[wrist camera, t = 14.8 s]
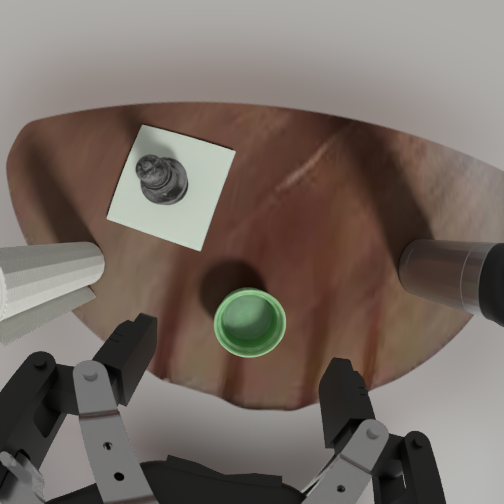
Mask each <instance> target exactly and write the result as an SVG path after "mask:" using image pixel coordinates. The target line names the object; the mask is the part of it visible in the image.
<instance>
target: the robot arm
mask: <svg viewBox="0 0 504 504" xmlns="http://www.w3.org/2000/svg"><path fill="white" fill-rule="evenodd" d="M399 277H400V281H401V283H402V286H403V287H404V288H405V290H406V291H408V292H409V293H411V294H414V295H417V296H420V297H423V298H425V299H428V300H431V301H435V302H438V303H441V304H444V305H447V306H450V307H453V308H456V309H459V310H462V311H465V312H468V313H471V314H474V315H477V316H480V317H483V318H486V319H489V320H492V321H494V322H496V323H497V324H499V325H500V326H503V327H504V243H487V242H467V241H448V240H429V239H418V240H415V241H412V242H411V243H410V244H409V245H408V246H407V247H406V248H405V250H404V251H403V253H402V256H401V258H400V263H399ZM156 344H157V318H156V317H153V316H150V315H147V314H144V313H140V314H139V315H138V317H137V318H136V319H135V321H134V322H132V321H129V320H127V321H125V322H123V323H121V324H119V325H118V326H117V328H116V329H115V330H114V332H113V333H112V334H111V335H110V337H109V339H107V340H106V342H105V343H104V345H103V346H102V347H101V348H100V350H99V351H98V352H97V353H96V355H95V356H94V358H93V359H92V360H87V361H83V362H80V363H79V364H77V365H76V366H75V367H73V366H66V365H61V364H56V362H55V359H54V357H53V356H52V355H51V354H49V353H47V352H42V351H39V352H35V353H32V354H31V355H29V356H28V357H27V359H26V360H25V361H24V363H23V364H22V365H21V366H20V367H19V369H18V370H17V371H16V372H15V374H14V375H13V376H12V377H11V379H10V380H9V381H8V383H7V384H6V385H5V386H4V388H3V389H2V391H1V392H0V503H1V504H355V503H356V502H357V500H358V499H359V497H360V496H361V494H362V492H363V491H364V489H365V488H366V486H367V484H368V482H369V481H370V479H371V478H372V483H373V492H374V502H375V504H446V501H445V497H444V492H443V488H442V484H441V479H440V476H439V472H438V468H437V465H436V461H435V457H434V454H433V451H432V448H431V444H430V441H429V439H428V438H427V436H426V435H424V434H423V433H421V432H419V431H411V432H409V433H408V434H407V435H406V436H405V437H401V436H397V435H393V434H390V433H388V430H387V428H386V426H385V425H383V424H382V423H381V422H379V421H377V420H376V419H375V415H374V412H373V408H372V405H371V401H370V398H369V396H368V391H367V389H366V385H365V382H364V379H363V378H362V376H361V375H360V374H359V373H358V371H353V368H352V364H351V361H350V360H349V359H342V358H335V357H334V358H333V359H332V360H331V362H330V364H329V366H328V367H327V369H326V371H325V373H324V375H323V377H322V379H321V381H320V384H319V399H320V406H321V414H322V423H323V431H324V440H325V448H334V450H335V453H334V455H333V456H332V457H331V458H330V459H329V461H328V462H327V463H326V464H325V466H324V467H323V468H322V469H321V470H320V472H319V473H318V474H317V475H316V476H315V478H314V479H313V480H312V481H311V482H310V483H309V484H308V485H307V486H306V487H305V488H304V489H303V490H302V491H301V492H300V491H299V490H297V489H295V488H294V487H292V486H290V485H287V484H285V483H282V476H275V475H265V474H257V473H252V474H235V475H224V474H221V473H219V472H216V471H214V470H212V469H210V468H207V467H205V466H203V465H201V464H199V463H196V462H193V461H188V460H185V459H181V458H178V457H174V456H171V455H168V457H167V460H166V461H161V460H160V461H147V462H142V463H138V460H137V458H136V455H135V453H134V450H133V448H132V445H131V443H130V440H129V438H128V435H127V432H126V429H125V427H124V424H123V421H122V418H121V415H120V412H119V411H118V409H117V406H118V404H121V405H124V406H127V405H128V402H129V401H130V399H131V397H132V395H133V393H134V391H135V389H136V387H137V385H138V383H139V381H140V380H141V378H142V376H143V374H144V372H145V370H146V368H147V366H148V365H149V363H150V361H151V359H152V357H153V355H154V353H155V349H156ZM67 414H73V415H79V423H80V427H81V432H82V436H83V440H84V444H85V448H86V451H87V455H88V458H89V462H90V465H91V468H92V471H93V475H94V477H95V480H96V483H94V484H92V485H90V486H87V487H84V488H82V489H80V490H77V491H74V492H71V493H69V494H66V495H63V496H60V497H57V498H54V499H51V500H49V501H47V502H45V500H44V496H43V489H44V479H43V476H42V474H41V473H40V472H39V468H40V466H41V464H42V462H43V460H44V458H45V456H46V454H47V452H48V450H49V447H50V446H51V444H52V442H53V440H54V438H55V436H56V434H57V432H58V430H59V428H60V426H61V424H62V423H63V421H64V419H65V417H66V415H67ZM403 474H404V480H405V485H406V489H405V485H404V480H403Z"/></svg>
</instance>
